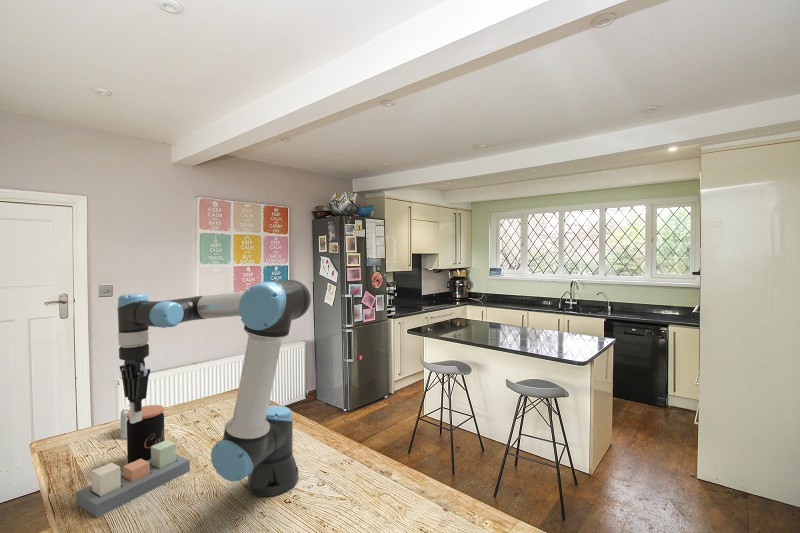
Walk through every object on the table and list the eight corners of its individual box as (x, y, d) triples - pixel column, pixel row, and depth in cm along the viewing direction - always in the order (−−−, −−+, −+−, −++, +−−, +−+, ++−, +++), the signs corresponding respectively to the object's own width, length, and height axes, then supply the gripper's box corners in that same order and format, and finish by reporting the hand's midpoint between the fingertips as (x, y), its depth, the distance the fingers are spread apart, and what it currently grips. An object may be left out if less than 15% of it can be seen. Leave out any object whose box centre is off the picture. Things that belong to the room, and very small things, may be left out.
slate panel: (189, 470, 126) (189, 460, 126) (96, 517, 103) (96, 504, 103) (168, 461, 132) (168, 451, 132) (76, 503, 109) (75, 491, 109)
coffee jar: (146, 473, 125) (145, 418, 124) (119, 469, 127) (118, 415, 127) (172, 456, 135) (171, 405, 135) (146, 453, 137) (145, 403, 137)
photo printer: (131, 428, 158) (130, 398, 158) (143, 427, 159) (142, 397, 158) (119, 439, 148) (118, 408, 148) (131, 438, 149) (131, 407, 148)
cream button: (120, 487, 112) (120, 466, 112) (100, 496, 107) (100, 475, 107) (112, 482, 114) (111, 462, 114) (92, 491, 110) (91, 470, 110)
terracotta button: (150, 481, 119) (149, 462, 119) (132, 490, 114) (131, 470, 114) (141, 477, 121) (140, 458, 121) (123, 485, 117) (123, 466, 117)
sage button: (175, 461, 126) (175, 443, 125) (159, 469, 121) (159, 450, 121) (167, 457, 128) (166, 440, 128) (151, 464, 124) (150, 446, 124)
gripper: (158, 344, 117) (160, 421, 117) (136, 340, 123) (137, 413, 124) (131, 349, 110) (133, 430, 111) (109, 344, 117) (111, 421, 117)
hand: (135, 421), depth 117 cm, fingers closed
